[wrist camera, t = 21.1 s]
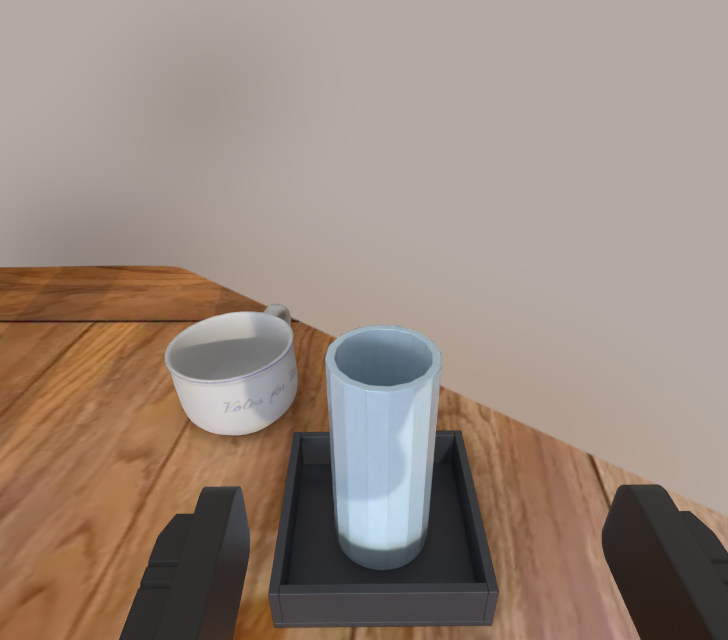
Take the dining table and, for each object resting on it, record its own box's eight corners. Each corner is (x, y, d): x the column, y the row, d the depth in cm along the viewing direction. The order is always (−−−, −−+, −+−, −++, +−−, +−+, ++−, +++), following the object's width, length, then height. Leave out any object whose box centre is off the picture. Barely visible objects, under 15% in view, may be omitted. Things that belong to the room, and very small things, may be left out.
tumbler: (318, 544, 36) (303, 369, 28) (363, 480, 41) (361, 315, 33) (402, 587, 33) (411, 406, 25) (440, 513, 38) (458, 341, 30)
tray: (273, 628, 32) (267, 594, 30) (297, 463, 43) (293, 431, 41) (492, 625, 31) (499, 592, 30) (457, 461, 43) (461, 430, 41)
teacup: (241, 473, 42) (226, 396, 38) (156, 422, 47) (135, 349, 43) (343, 383, 52) (341, 314, 48) (264, 349, 57) (255, 284, 53)
